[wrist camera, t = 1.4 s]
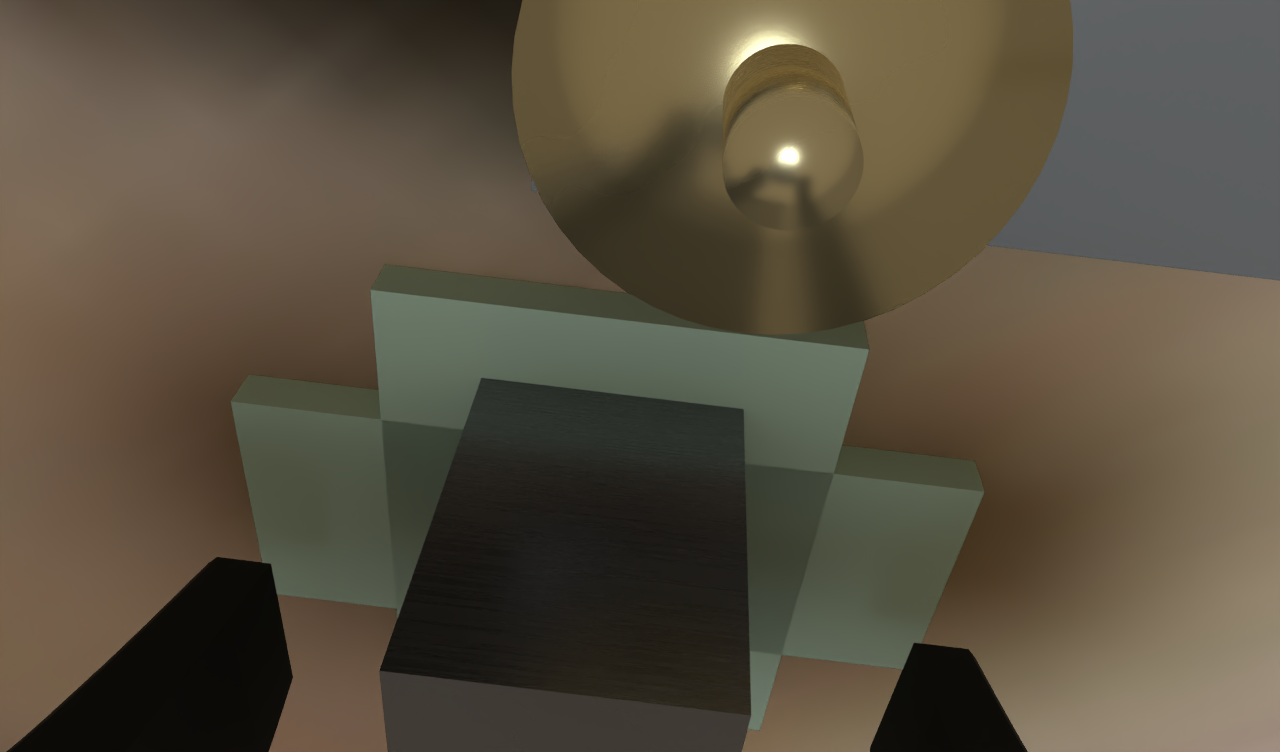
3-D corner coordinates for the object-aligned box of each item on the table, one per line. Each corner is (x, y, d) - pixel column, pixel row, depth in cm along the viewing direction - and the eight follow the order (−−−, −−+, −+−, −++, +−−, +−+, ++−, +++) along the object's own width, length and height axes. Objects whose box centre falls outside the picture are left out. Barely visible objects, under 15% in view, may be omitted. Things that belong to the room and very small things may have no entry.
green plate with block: (303, 630, 15) (157, 959, 11) (235, 235, 11) (-31, 537, 7) (871, 699, 15) (922, 1052, 11) (1018, 329, 11) (1175, 683, 7)
